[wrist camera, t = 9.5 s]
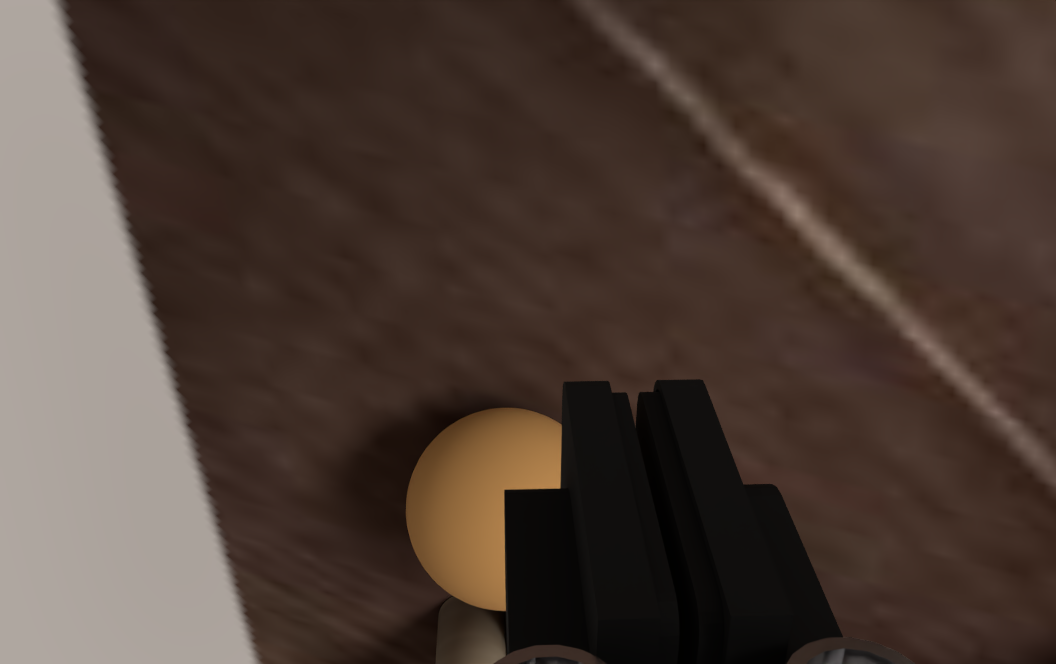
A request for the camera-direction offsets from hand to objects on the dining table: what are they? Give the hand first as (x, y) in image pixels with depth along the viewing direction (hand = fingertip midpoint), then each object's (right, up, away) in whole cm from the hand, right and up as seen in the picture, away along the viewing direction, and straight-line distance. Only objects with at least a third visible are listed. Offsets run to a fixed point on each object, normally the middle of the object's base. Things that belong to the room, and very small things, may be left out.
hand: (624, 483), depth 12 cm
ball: (-2, -3, +18) cm, 18 cm away
